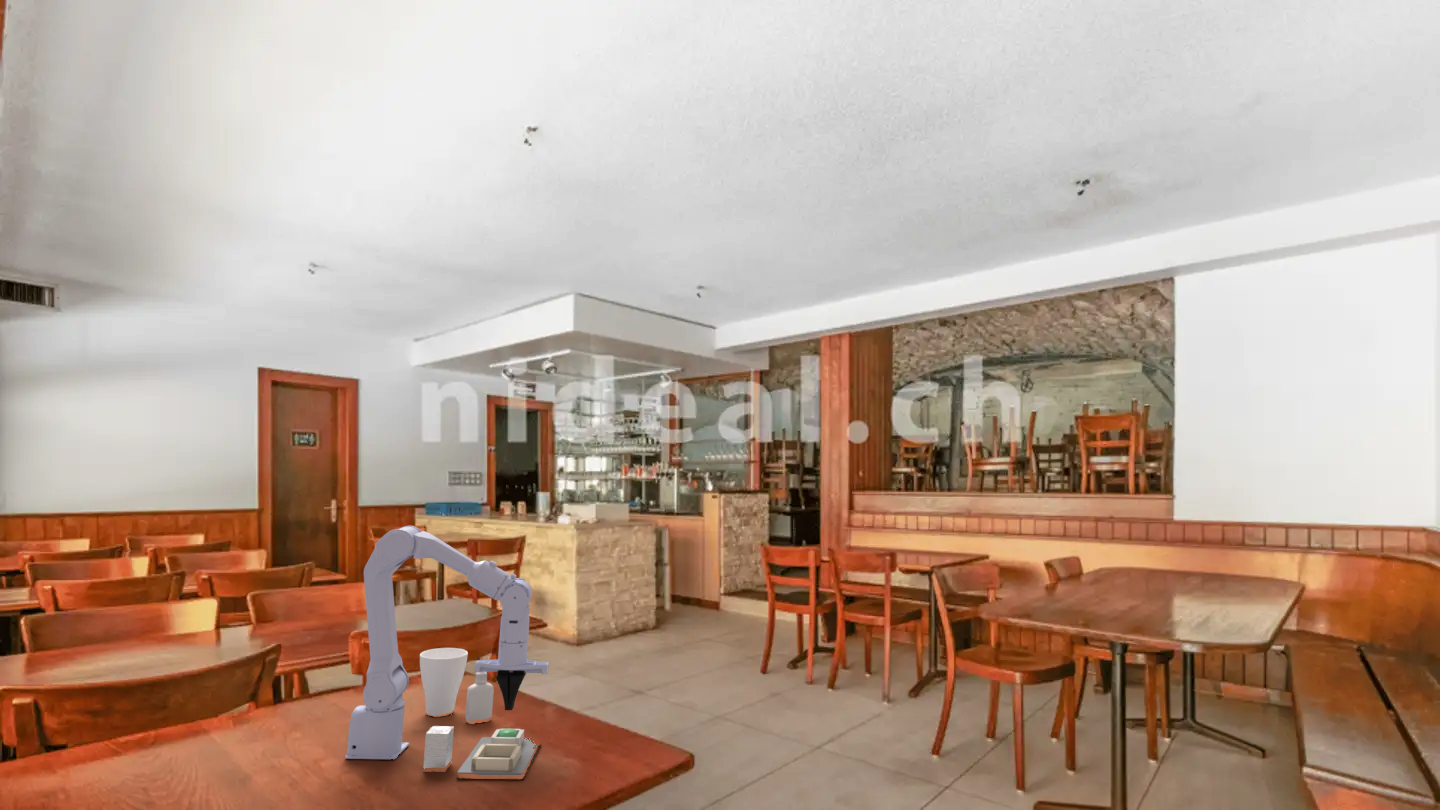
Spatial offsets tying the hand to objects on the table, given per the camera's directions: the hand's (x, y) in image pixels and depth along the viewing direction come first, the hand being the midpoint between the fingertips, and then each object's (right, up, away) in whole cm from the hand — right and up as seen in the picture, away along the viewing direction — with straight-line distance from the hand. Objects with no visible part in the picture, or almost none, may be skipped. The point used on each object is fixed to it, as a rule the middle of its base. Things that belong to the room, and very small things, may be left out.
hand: (509, 708), depth 152 cm
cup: (-22, -9, +20) cm, 31 cm away
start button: (0, -7, -1) cm, 7 cm away
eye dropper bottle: (-11, -9, +16) cm, 21 cm away
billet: (-11, -7, -10) cm, 16 cm away
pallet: (0, -8, -6) cm, 10 cm away
